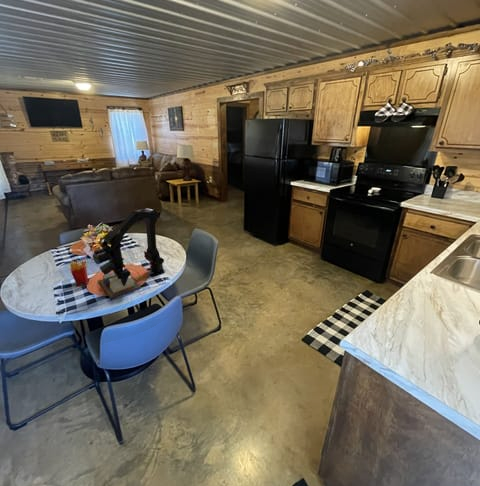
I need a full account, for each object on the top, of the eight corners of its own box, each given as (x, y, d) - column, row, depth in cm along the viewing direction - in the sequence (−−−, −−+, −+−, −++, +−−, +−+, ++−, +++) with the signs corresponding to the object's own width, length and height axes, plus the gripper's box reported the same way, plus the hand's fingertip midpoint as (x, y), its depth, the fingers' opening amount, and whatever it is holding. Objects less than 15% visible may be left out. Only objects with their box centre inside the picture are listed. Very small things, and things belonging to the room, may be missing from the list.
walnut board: (127, 272, 160) (126, 271, 160) (141, 288, 145) (140, 286, 145) (99, 282, 151) (98, 280, 150) (110, 299, 135) (110, 297, 135)
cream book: (128, 276, 148) (127, 272, 147) (132, 280, 143) (131, 276, 143) (109, 282, 142) (109, 278, 141) (113, 287, 137) (112, 283, 137)
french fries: (76, 281, 152) (70, 258, 146) (92, 278, 154) (87, 255, 149) (74, 289, 144) (67, 265, 138) (91, 286, 147) (84, 262, 141)
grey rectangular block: (125, 273, 157) (123, 268, 156) (127, 277, 153) (126, 271, 152) (103, 280, 150) (102, 275, 148) (106, 284, 146) (104, 278, 145)
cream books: (130, 281, 149) (129, 275, 148) (134, 285, 145) (133, 280, 144) (110, 288, 143) (108, 282, 141) (113, 293, 139) (112, 287, 137)
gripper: (94, 255, 138) (100, 280, 144) (104, 268, 125) (111, 295, 131) (116, 249, 145) (121, 273, 151) (128, 261, 132) (133, 287, 138)
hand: (121, 282), depth 143 cm, fingers open, 9 cm apart
